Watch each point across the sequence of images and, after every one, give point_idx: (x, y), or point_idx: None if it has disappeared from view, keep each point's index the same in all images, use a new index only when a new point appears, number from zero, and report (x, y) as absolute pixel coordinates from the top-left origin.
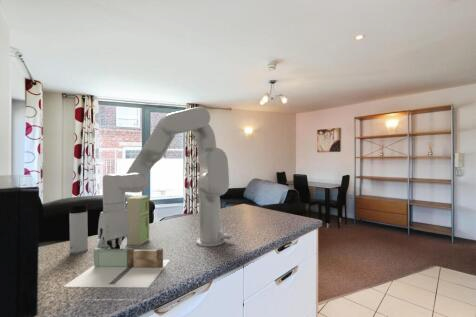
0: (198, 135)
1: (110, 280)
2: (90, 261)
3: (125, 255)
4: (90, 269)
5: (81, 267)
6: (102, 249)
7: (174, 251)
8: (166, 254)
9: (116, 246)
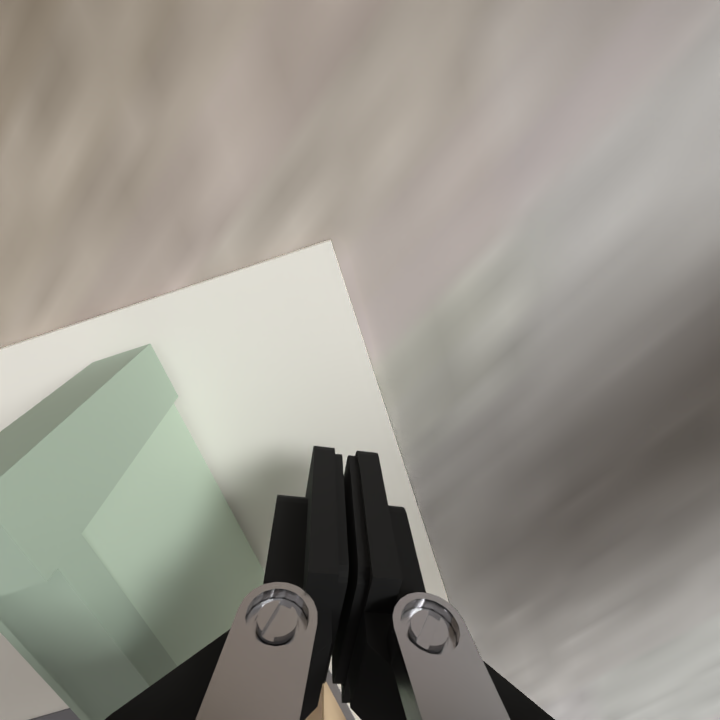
0: None
1: (23, 706)
2: (225, 73)
3: None
4: (33, 376)
5: (16, 153)
6: (52, 626)
7: (696, 714)
8: (623, 703)
9: (336, 665)
